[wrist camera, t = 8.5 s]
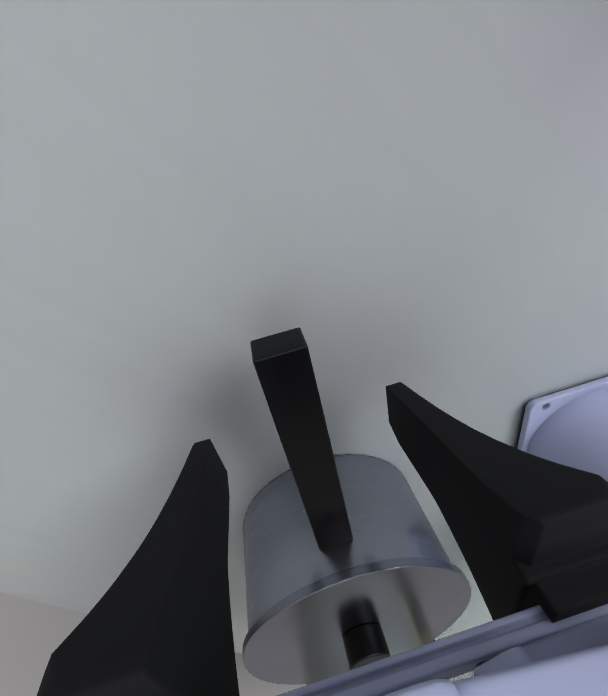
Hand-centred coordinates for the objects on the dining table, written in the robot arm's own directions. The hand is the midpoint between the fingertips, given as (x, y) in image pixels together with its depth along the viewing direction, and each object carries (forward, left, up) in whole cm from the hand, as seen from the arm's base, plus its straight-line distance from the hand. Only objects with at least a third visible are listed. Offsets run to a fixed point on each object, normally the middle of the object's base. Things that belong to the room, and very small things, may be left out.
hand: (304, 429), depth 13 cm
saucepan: (0, +6, -3) cm, 7 cm away
